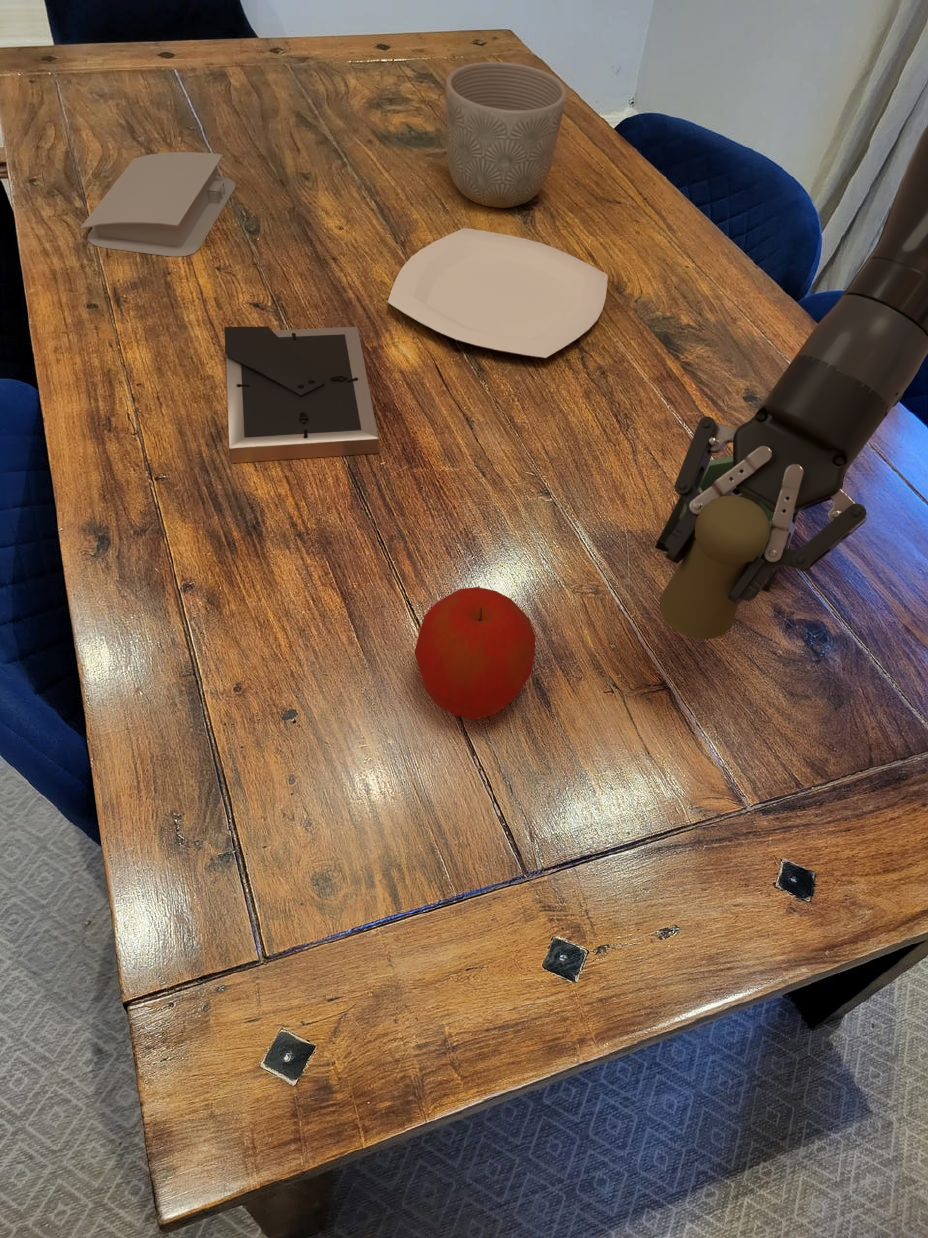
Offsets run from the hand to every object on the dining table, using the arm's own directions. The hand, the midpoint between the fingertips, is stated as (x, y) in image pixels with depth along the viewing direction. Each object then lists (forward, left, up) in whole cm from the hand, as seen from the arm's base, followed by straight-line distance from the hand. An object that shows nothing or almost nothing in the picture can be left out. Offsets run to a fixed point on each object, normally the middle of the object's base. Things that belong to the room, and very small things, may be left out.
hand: (702, 580), depth 65 cm
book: (+89, -44, -17) cm, 101 cm away
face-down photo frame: (+50, -19, -17) cm, 56 cm away
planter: (+52, -76, -17) cm, 94 cm away
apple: (+15, +7, -17) cm, 23 cm away
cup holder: (0, -24, -17) cm, 30 cm away
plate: (+39, -50, -17) cm, 66 cm away
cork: (-1, -2, -5) cm, 6 cm away
